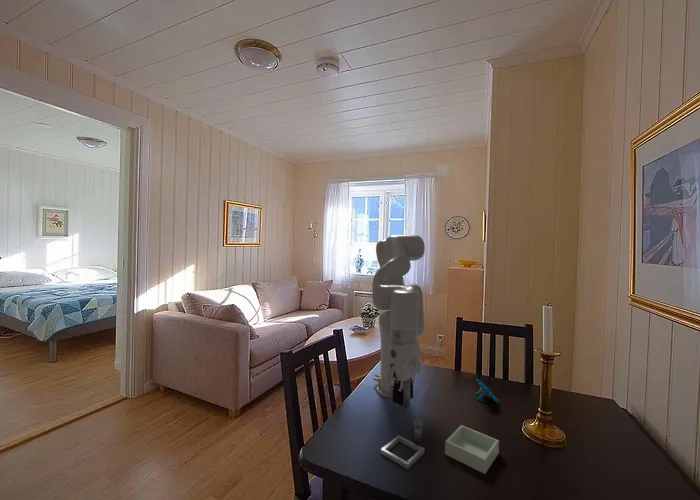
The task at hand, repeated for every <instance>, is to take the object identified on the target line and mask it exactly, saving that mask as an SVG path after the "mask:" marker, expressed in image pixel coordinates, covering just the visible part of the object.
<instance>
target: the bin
mask: <svg viewBox="0 0 700 500" xmlns="http://www.w3.org/2000/svg"><path fill="white" fill-rule="evenodd" d="M444 442H445V446H444V448H445V449H444V455H446V456H448V457H449V458H452V459H454V460H456V461H458V462H459V463H462V464H464V465H466V466H468V467H469V468H472V469H474V470H475V471H478V472H480V473H482V474H484V475H486V473H487V472H488V470H489V469H490V467H491V466H492V464H493V462H494V461H495V460H496V458H497V457H498V455H499V453H500V451H499V449H500V446H499V445H500V440H499V439H496V438H494V437H491V436H489V435H487V434H485V433H482V432H479V431H476V430H474V429H472V428H469V427H467V426H464V425H463V424H461V425H460V426H458V427H457V429H456V430H455V431H453V433H452V434H451V435H450V436H449V437H448V438H447V439H446V440H445V441H444Z"/></svg>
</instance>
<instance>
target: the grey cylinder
mask: <svg viewBox="0 0 700 500" xmlns="http://www.w3.org/2000/svg"><path fill="white" fill-rule="evenodd" d="M396 383H398V385H399V381H397V380H396ZM410 387H411V378H410V379H408V380H407V381H405V382H403V388H402V390H403V391H404V404H403V405H402V406H401V405H399V404H397V403H395V406H396V407H398V408H399V409H409V408H410V407H411V399H410Z"/></svg>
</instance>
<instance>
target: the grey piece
mask: <svg viewBox="0 0 700 500" xmlns="http://www.w3.org/2000/svg"><path fill="white" fill-rule="evenodd" d="M412 425H413V427H414V432H413V433H414V438H413V440H414V442H416V443H421V442H422V428H423V425H424V423H423V420H422V419H420V418H419V417H416V418H414V420H413V421H412ZM414 442H413V441H410V440H409V439H407V438H405V437H403V436H401V435H399V434H398V435H397V436H395V438H393V439H392V440H390V441H389V442H388V443H387V444H386V445H384V446H382V447H381V449H380V454H381V455H383V456H384V457H385V458H388V459H389V460H391V461H392V462H394V463H396V464H398V465H399V466H401V467H402V468H404V469H406V470H409V469H410V468H411V467H412V466H413V465H414V464H415V463H416V462H417V461H418V460H419V459H420V458H421V457H422V456H423V455H424V454H425V447H422V446H420V445H418V444H416V443H414ZM398 443H400V444H403V445H405V446H406V447H409V448H410V449H412V450H414V451H416V452H415V453H414V454H413V455H412V456H411V457H410V458H408V460H405V459H403V458H401V457H399V456H398V455H396V454H394V453H392V452H391V451H390V450H391V449H392V448H393V447H395V445H397V444H398Z"/></svg>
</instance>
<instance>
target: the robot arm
mask: <svg viewBox="0 0 700 500" xmlns="http://www.w3.org/2000/svg"><path fill="white" fill-rule="evenodd" d="M425 248H426V247H425V242H424V239H423V238H422V237H421V236H420V235H417V234H394V235H390V236H388V237H387V238H386V239H382V240H380V241H378V242H377V243H376V246H375V254H376V259H377V262H378V265H379V268H378V270H376V272H375V274H374V276H373V278H372V283H371V284H372V285H371V287H372V290H371V291H372V292H371V293H372V295H371V296H372V299H371V300H372V305H373V306H374V307H375V308H376V309H377V310H380V311H383V312H381V313H380V315H379V317H378V326H379V327H378V328H379V335H380V374H379V373H375V374H374V377H373V381H375V382H377V383H378V384H377V385H376V392H377V393H378V395H380V396H382V397H384V398H389V399H392V402H393V403H395V404H396V403H397V404H399V405H401V406H402V405H403V404H404V391H403V390H402V388H403V382H405V381H407V380H408V379H410V378H411V387H410V400H411V399H413V398H414V384H415V376H417V374H419V373H420V372H421V351H420V350H421V349H420V342H419V336H422V335H423V333H424V331H425V316H424V315H425V313H424V298H423V295H424V294H423V292H422V291H423V290H422V288H421V286H420V285H419V284H415V283H404V276H405V275H407V274H408V273H410V270H411V267H412V265H411V261H412V262H413V261H418V260H420V259H422V258H423V257H424V255H425ZM396 380H397V381H399V385H398V383H396Z"/></svg>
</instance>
